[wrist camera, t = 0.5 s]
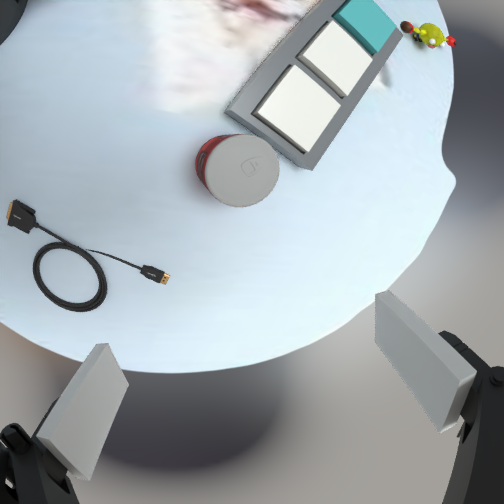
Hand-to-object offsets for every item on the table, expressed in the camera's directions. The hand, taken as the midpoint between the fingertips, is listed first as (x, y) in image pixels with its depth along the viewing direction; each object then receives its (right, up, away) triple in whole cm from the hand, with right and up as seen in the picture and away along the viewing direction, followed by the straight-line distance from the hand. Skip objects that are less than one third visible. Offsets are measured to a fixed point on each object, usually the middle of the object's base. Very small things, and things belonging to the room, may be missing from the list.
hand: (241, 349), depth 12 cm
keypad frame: (+11, +33, +23) cm, 42 cm away
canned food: (-4, +17, +26) cm, 31 cm away
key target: (+17, +41, +19) cm, 49 cm away
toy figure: (+34, +48, +24) cm, 63 cm away
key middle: (+12, +33, +21) cm, 41 cm away
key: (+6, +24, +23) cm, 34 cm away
